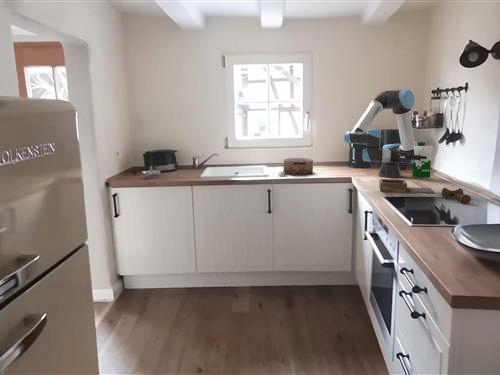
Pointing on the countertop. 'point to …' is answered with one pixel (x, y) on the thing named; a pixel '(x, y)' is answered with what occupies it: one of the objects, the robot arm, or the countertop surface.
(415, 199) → the countertop surface
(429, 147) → the soya milk
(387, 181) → the collar
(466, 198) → the kendama
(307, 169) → the wicker basket
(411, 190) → the rubber mat
